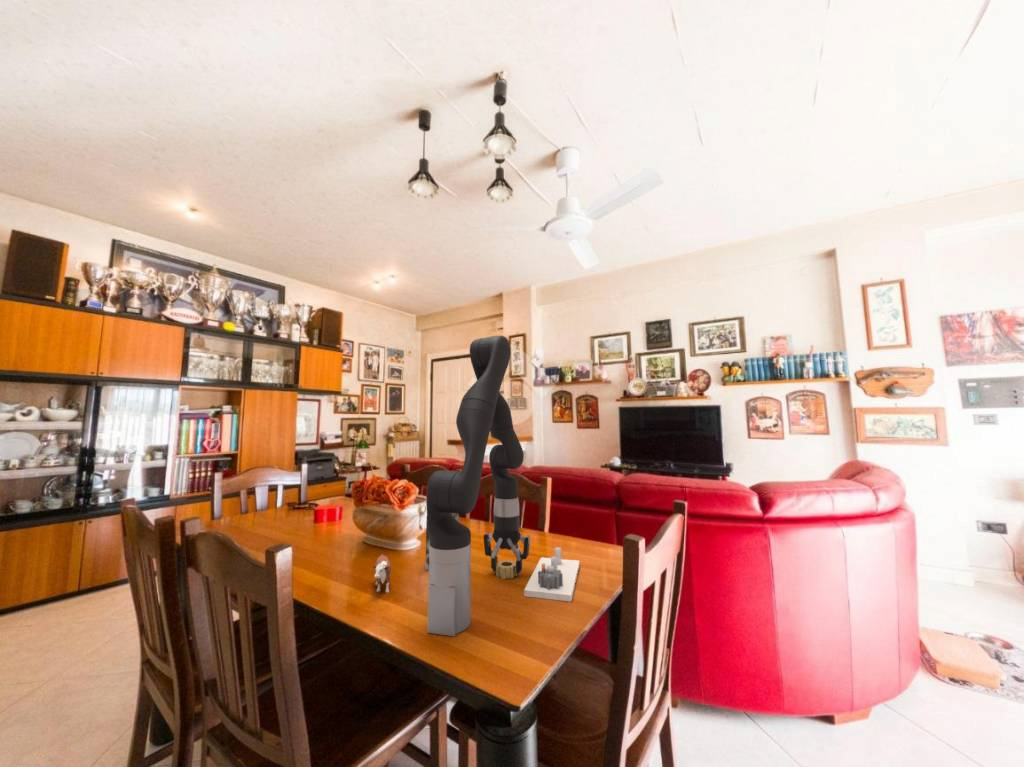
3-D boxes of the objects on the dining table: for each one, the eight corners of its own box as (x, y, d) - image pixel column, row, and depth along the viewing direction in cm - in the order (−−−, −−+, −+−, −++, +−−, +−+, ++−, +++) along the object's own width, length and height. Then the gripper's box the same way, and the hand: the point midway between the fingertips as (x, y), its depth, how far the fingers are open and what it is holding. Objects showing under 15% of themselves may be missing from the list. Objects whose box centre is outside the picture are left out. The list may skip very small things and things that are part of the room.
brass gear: (514, 580, 107) (514, 569, 107) (492, 578, 108) (492, 567, 108) (519, 571, 113) (519, 561, 113) (499, 569, 114) (499, 559, 115)
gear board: (571, 601, 94) (570, 574, 94) (524, 596, 97) (523, 569, 97) (579, 565, 117) (579, 544, 118) (541, 562, 120) (540, 541, 121)
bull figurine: (371, 601, 95) (372, 567, 95) (375, 579, 108) (376, 549, 108) (389, 599, 96) (390, 565, 97) (391, 577, 109) (392, 548, 110)
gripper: (479, 514, 110) (479, 574, 109) (527, 517, 107) (528, 579, 105) (487, 508, 118) (487, 564, 116) (532, 511, 114) (533, 569, 112)
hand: (506, 571), depth 111 cm, fingers closed on brass gear, 6 cm apart
